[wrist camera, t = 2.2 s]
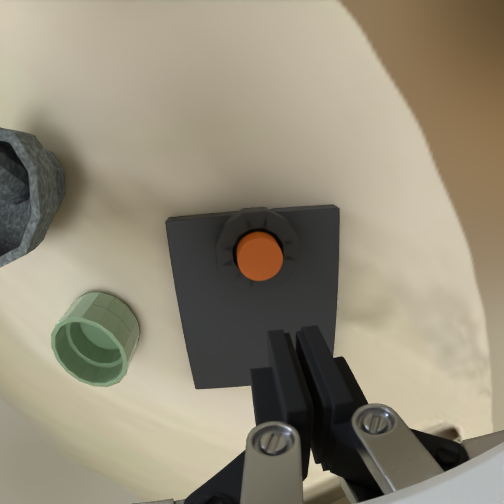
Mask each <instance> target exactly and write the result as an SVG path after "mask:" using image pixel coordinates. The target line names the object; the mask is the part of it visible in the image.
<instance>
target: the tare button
mask: <svg viewBox="0 0 504 504" xmlns="http://www.w3.org/2000/svg"><path fill="white" fill-rule="evenodd" d="M237 262H238V266H239V269H240V271H241V272H242V273H243V275H245V276H246V277H247V278H249V279H252V280H255V281H263V280H267V279H270V278H272V277H273V276H274V275H276V274H277V273H278V271H279V270H280V268H281V266H282V262H283V255H282V251H281V249H280V247H279V245H278V243H277V242H276V240H275V239H274V238H273V237H272V236H271V235H270V234H268V233H265V232H260V231H256V232H252V233H249V234H247V235H246V236H244V237H243V238H242V239H241V240H240V242H239V244H238V246H237Z"/></svg>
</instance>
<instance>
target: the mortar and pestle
mask: <svg viewBox="0 0 504 504" xmlns="http://www.w3.org/2000/svg"><path fill="white" fill-rule="evenodd" d="M64 194H65V182H64V169H63V168H62V166H61V165H60V163H59V162H58V160H57V159H56V157H55V156H54V154H53V153H52V152H49V151H45V150H44V148H43V147H42V145H41V144H40V142H39V141H38V139H37V138H36V136H35V135H32V134H28V133H25V132H20V131H15V130H10V129H5V128H0V267H2V266H4V265H6V264H8V263H10V262H12V261H14V260H16V259H18V258H20V257H22V256H24V255H26V254H28V253H29V252H31V251H32V250H34V249H35V248H36V247H37V246H38V245H39V244H40V243H41V242H42V241H43V240H44V237H45V235H46V232H47V230H48V228H49V225H50V223H51V221H52V218H53V216H54V214H55V212H56V211H57V209H58V207H59V205H60V202H61V200H62V198H63V196H64Z"/></svg>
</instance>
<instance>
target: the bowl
mask: <svg viewBox="0 0 504 504" xmlns="http://www.w3.org/2000/svg"><path fill="white" fill-rule="evenodd" d="M139 334H140V331H139V327H138V323H137V319H136V318H135V316H134V315H133V313H132V312H131V310H130V309H129V307H127V305H125V304H124V303H123V302H121V301H120V300H119V299H117V298H116V297H114V296H111V295H108V294H105V293H101V292H96V293H87V294H85V295H83V296H82V297H80V298H78V299H77V300H76V301H75V302H74V303H73V305H72V306H71V307H70V308H69V309H68V311H67V312H66V313H65V314H64V315H63V317H62V318H61V319H60V320H59V322H58V323H57V324H56V326H55V328H54V330H53V332H52V334H51V346H52V349H53V352H54V354H55V357H56V359H57V361H58V362H59V363H60V364H61V366H62V367H63V368H64V369H65V370H66V372H68V373H69V374H70V375H72V376H73V377H75V378H76V379H77V380H79V381H81V382H83V383H86V384H89V385H92V386H99V387H108V386H111V385H114V384H117V383H119V382H120V381H121V380H122V378H123V377H124V376H125V375H126V373H127V371H128V368H129V365H130V363H131V360H132V357H133V354H134V352H135V349H136V347H137V344H138V339H139Z"/></svg>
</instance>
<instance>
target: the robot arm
mask: <svg viewBox="0 0 504 504" xmlns="http://www.w3.org/2000/svg"><path fill="white" fill-rule="evenodd" d="M267 343H268V363H269V367H262V368H252V369H250V377H251V387H252V397H253V406H254V414H255V422H256V427H254V428H253V429H252V430H251V431H250V433H249V434H248V437H247V440H246V450H244V451H243V452H242V453H241V454H240V455H239V456H237V457H236V458H235V459H234V460H233V461H232V462H230V463H229V464H228V465H227V466H226V467H224V468H223V469H222V470H221V471H220V472H218V473H217V474H216V475H215V476H213V477H212V478H211V479H210V480H208V481H207V482H206V483H205V484H203V485H202V486H201V487H199V488H198V489H197V490H195V491H194V492H193V493H191V494H190V495H189V496H188V497H187V498H186V499H183V500H177V501H174V500H173V499H166V500H160V501H152V502H144V503H134V504H303V481H304V480H305V479H306V477H307V474H308V466H309V458H310V450H312V453H313V457H314V460H315V463H316V464H320V463H321V465H322V468H323V471H327V470H330V472H331V473H333V474H336V475H338V479H339V482H340V484H341V486H342V488H343V490H344V492H345V494H346V495H347V497H348V499H349V501H350V503H351V504H504V430H502V431H499V432H495V433H491V434H487V435H483V436H479V437H475V438H471V439H466V440H463V441H462V443H461V444H459V443H457V442H455V441H452V440H448V439H445V438H441V437H438V436H434V435H431V434H427V433H424V432H420V431H417V430H414V429H411V428H409V427H408V426H407V425H406V424H405V422H404V421H403V420H402V419H401V418H400V416H399V415H398V414H397V413H396V412H395V411H394V410H393V409H392V408H390V407H388V406H386V405H383V404H368V402H367V400H366V398H365V396H364V394H363V392H362V390H361V388H360V387H359V385H358V383H357V381H356V379H355V377H354V375H353V373H352V371H351V369H350V368H349V366H348V364H347V362H346V360H345V359H344V357H342V356H341V357H336V358H333V356H332V354H331V352H330V350H329V348H328V346H327V344H326V342H325V340H324V338H323V336H322V334H321V332H320V330H319V328H318V326H317V325H311V326H304V327H301V331H296V351H295V348H294V345H293V342H292V339H291V336H290V333H289V332H287V333H284V331H283V329H278V330H269V331H267Z"/></svg>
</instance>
